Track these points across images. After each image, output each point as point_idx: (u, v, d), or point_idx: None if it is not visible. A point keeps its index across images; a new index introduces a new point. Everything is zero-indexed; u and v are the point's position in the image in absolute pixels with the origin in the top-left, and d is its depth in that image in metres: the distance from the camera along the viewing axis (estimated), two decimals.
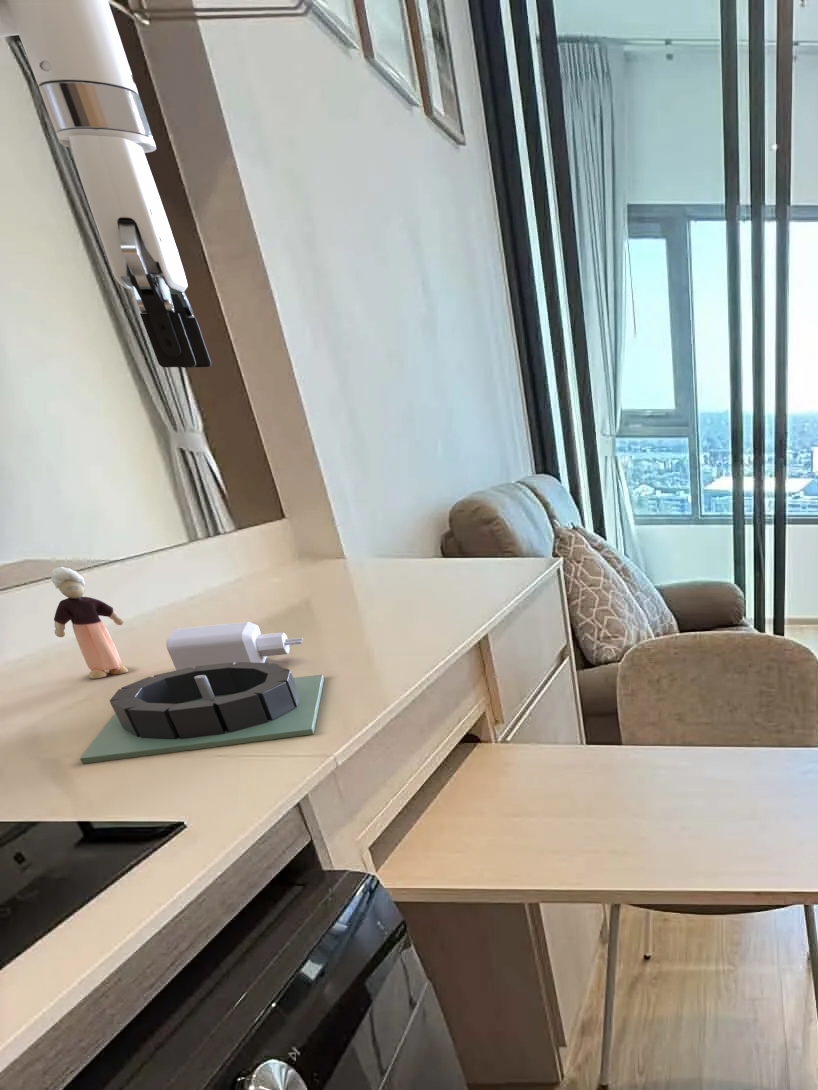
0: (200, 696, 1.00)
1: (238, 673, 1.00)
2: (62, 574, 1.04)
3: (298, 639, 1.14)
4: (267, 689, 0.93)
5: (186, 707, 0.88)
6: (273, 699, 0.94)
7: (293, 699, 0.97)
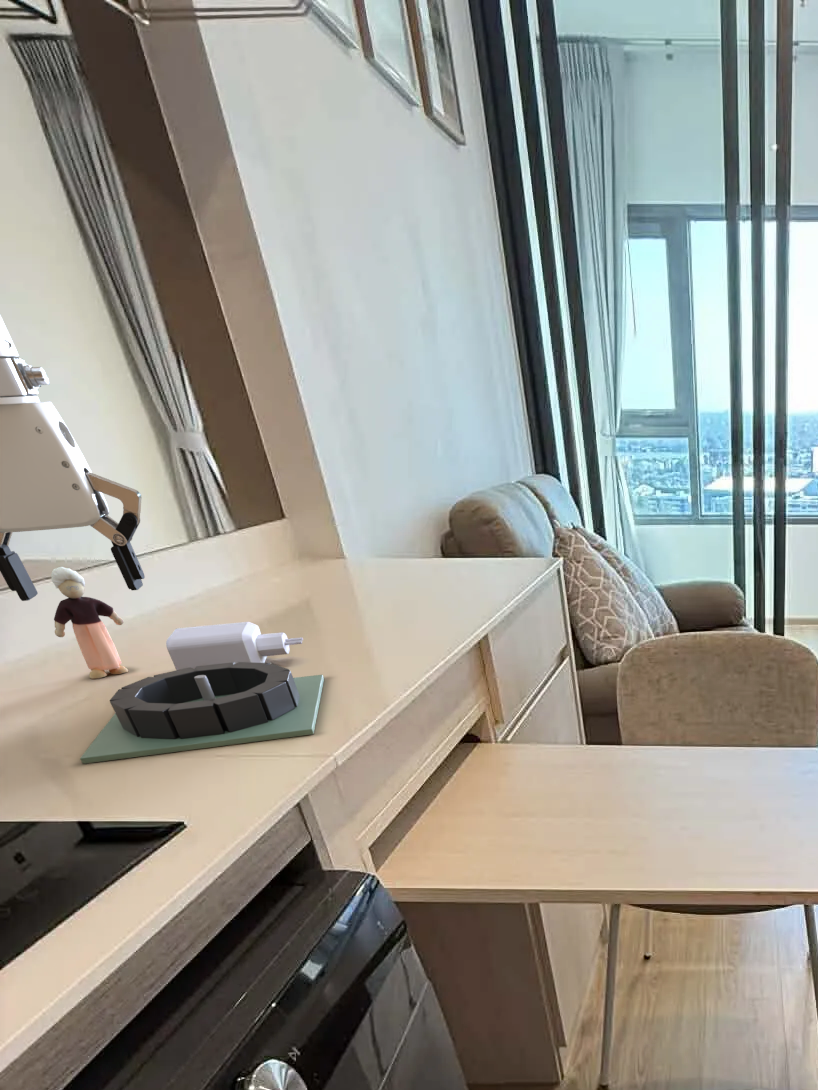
0: (200, 696, 1.00)
1: (238, 673, 1.00)
2: (62, 574, 1.04)
3: (298, 639, 1.14)
4: (267, 689, 0.93)
5: (186, 707, 0.88)
6: (273, 699, 0.94)
7: (293, 699, 0.97)
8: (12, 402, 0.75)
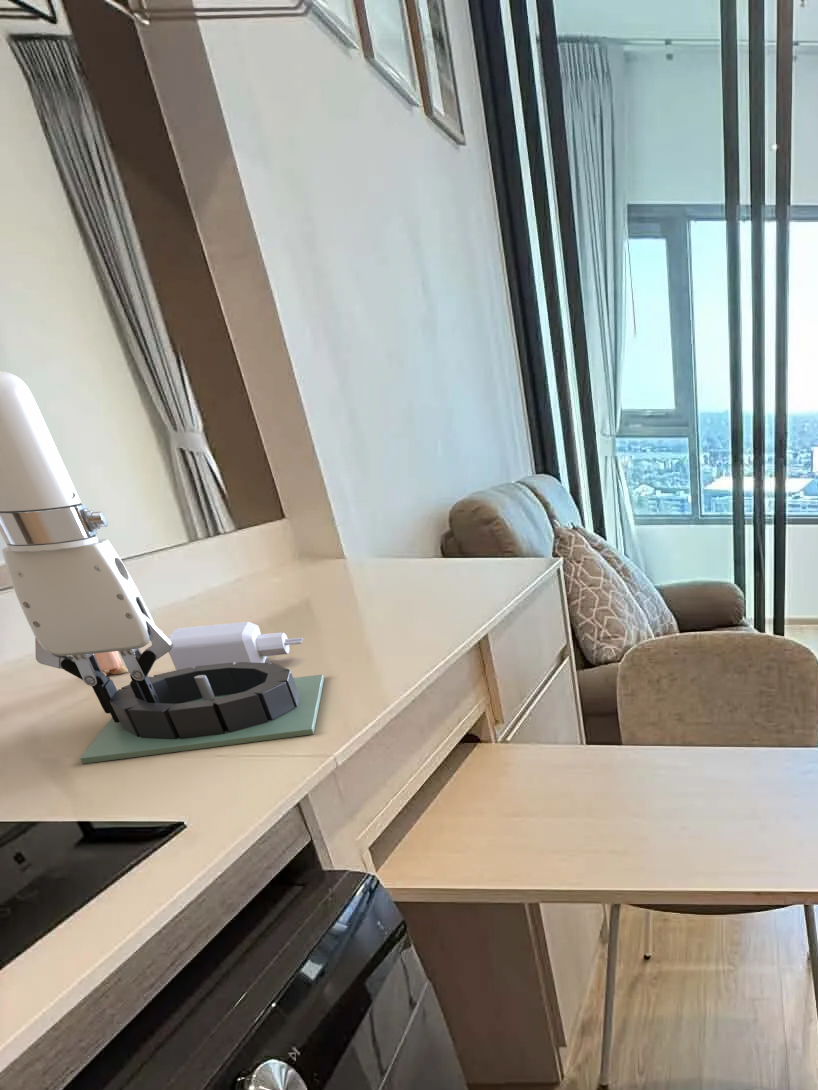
0: (200, 696, 1.00)
1: (238, 673, 1.00)
2: None
3: (298, 639, 1.14)
4: (267, 689, 0.93)
5: (186, 707, 0.88)
6: (273, 699, 0.94)
7: (293, 699, 0.97)
8: (74, 546, 0.82)
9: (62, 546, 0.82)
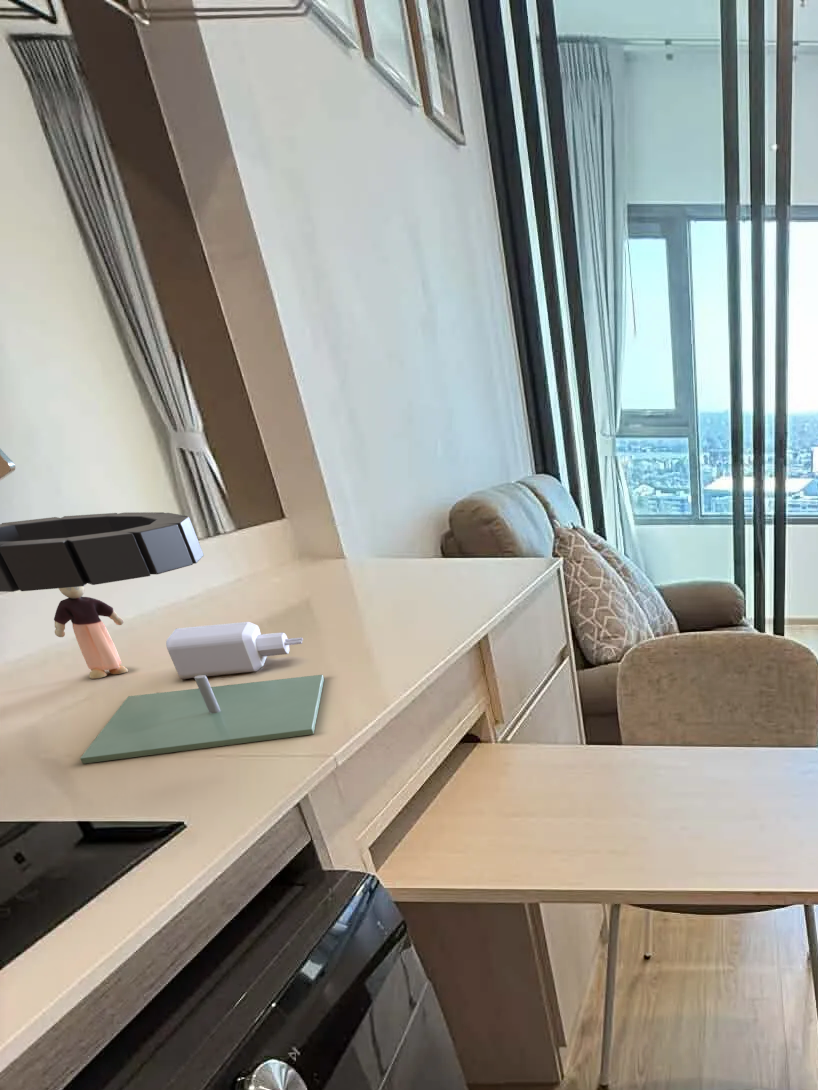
0: None
1: (120, 524, 0.74)
2: None
3: (298, 639, 1.14)
4: (148, 529, 0.67)
5: (25, 543, 0.62)
6: (158, 545, 0.68)
7: (190, 552, 0.71)
8: None
9: None
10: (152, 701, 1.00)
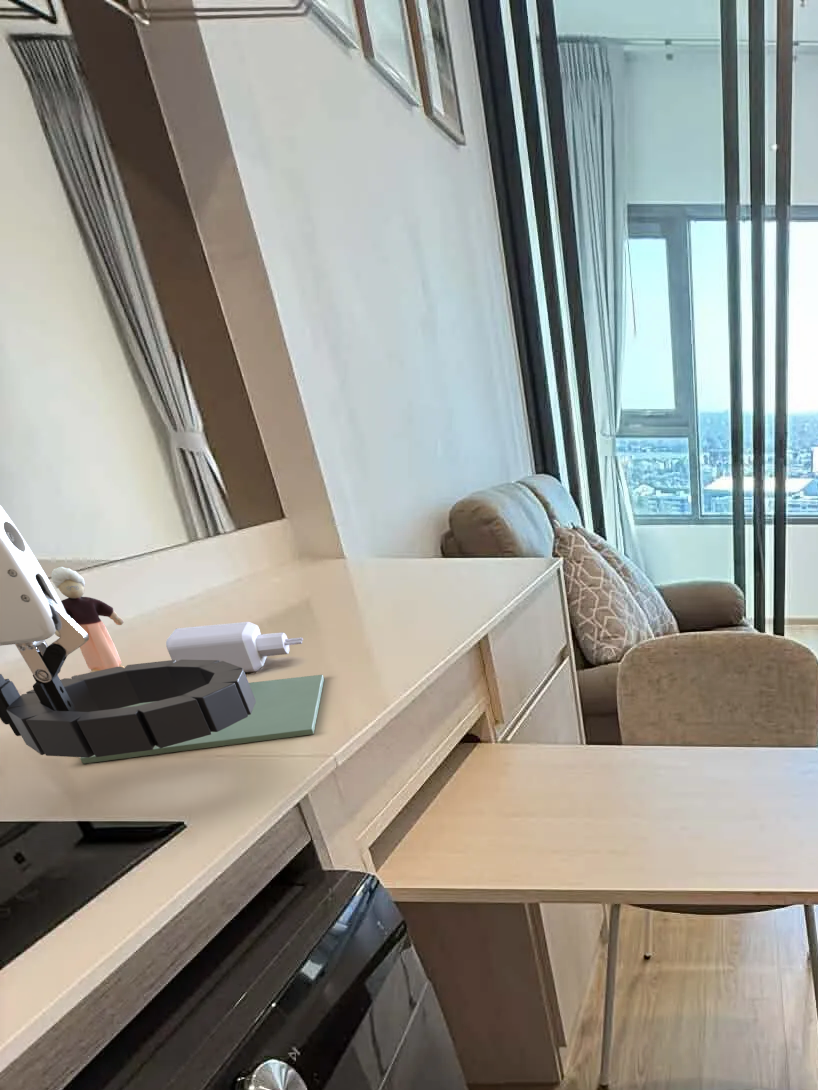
0: (132, 702, 0.80)
1: (179, 673, 0.80)
2: (62, 574, 1.04)
3: (298, 639, 1.14)
4: (210, 692, 0.73)
5: (101, 716, 0.68)
6: (218, 706, 0.73)
7: (246, 705, 0.77)
8: None
9: None
10: None
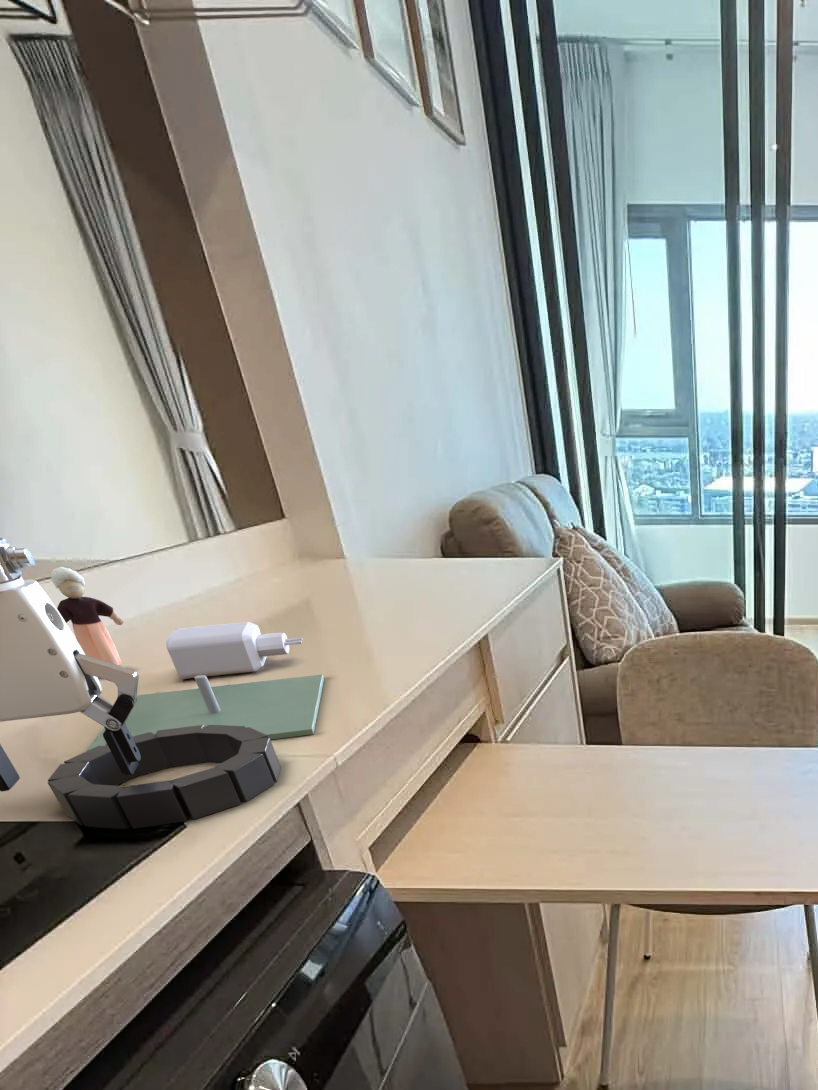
0: (162, 766, 0.84)
1: (207, 739, 0.84)
2: (62, 574, 1.04)
3: (298, 639, 1.14)
4: (240, 765, 0.77)
5: (139, 791, 0.72)
6: (247, 777, 0.77)
7: (272, 773, 0.81)
8: None
9: None
10: (152, 701, 1.00)
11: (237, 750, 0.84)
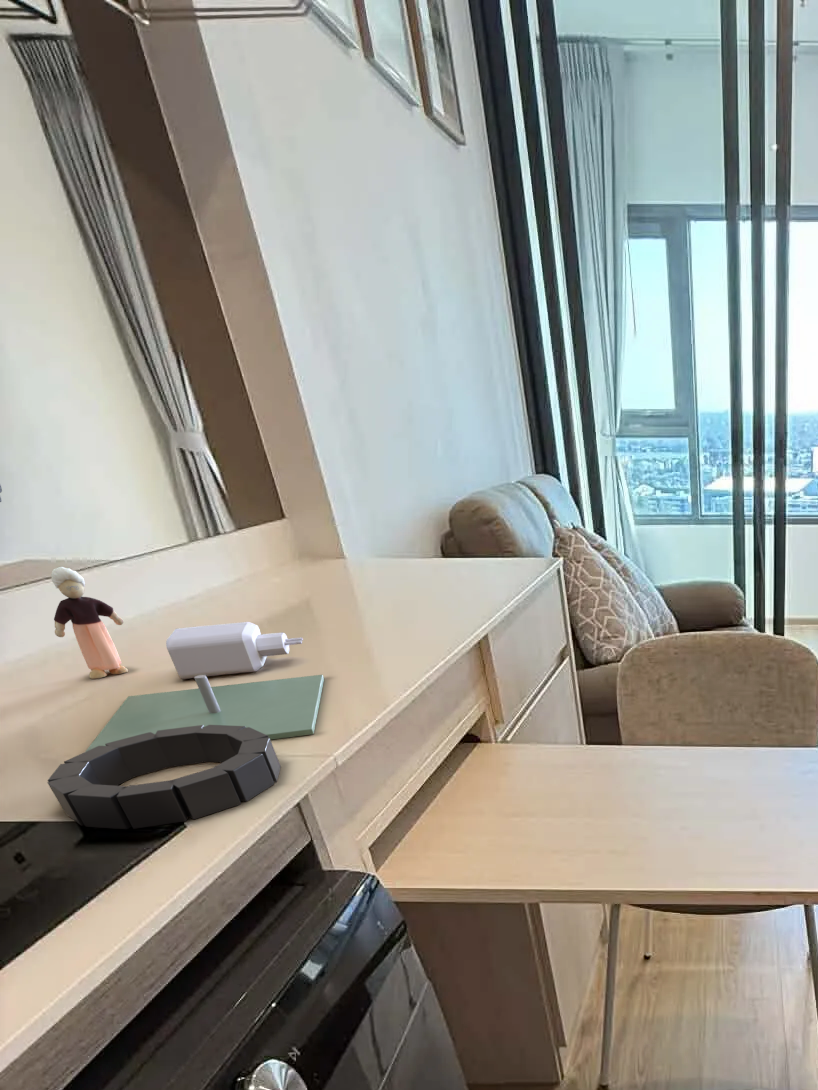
0: (162, 766, 0.84)
1: (207, 739, 0.84)
2: (62, 574, 1.04)
3: (298, 639, 1.14)
4: (240, 765, 0.77)
5: (139, 791, 0.72)
6: (247, 777, 0.77)
7: (272, 773, 0.81)
8: None
9: None
10: (152, 701, 1.00)
11: (237, 750, 0.84)
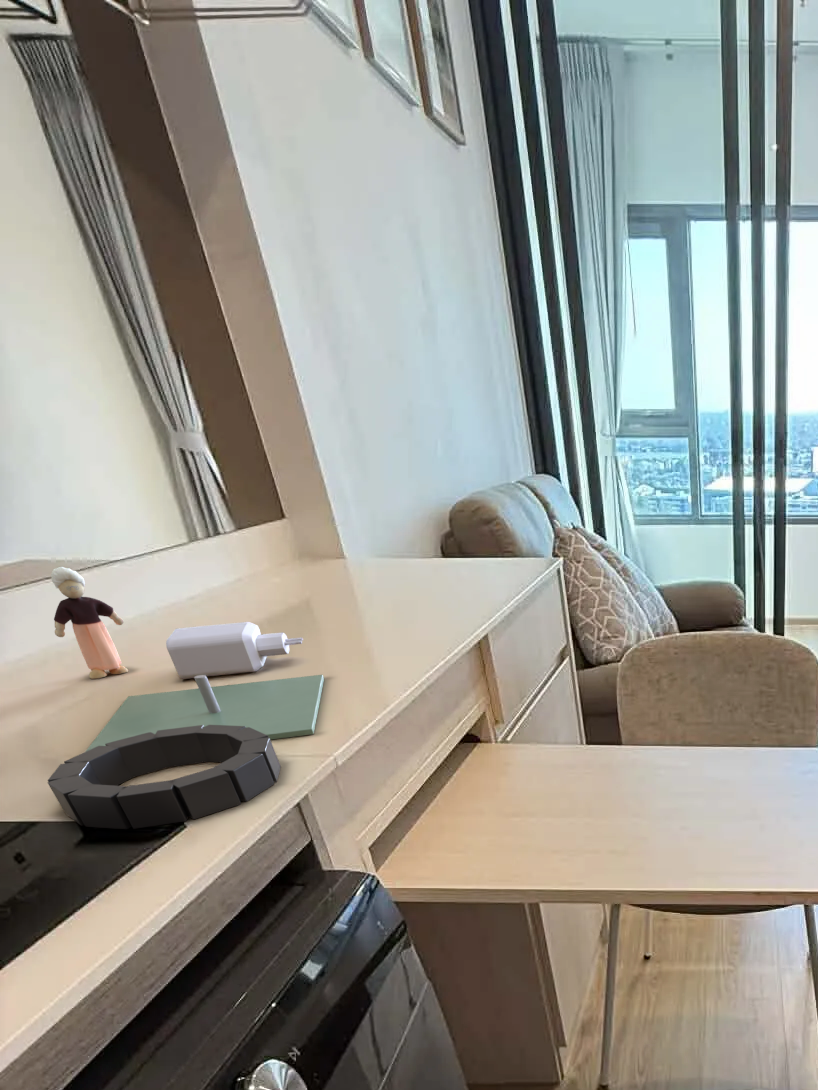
0: (162, 766, 0.84)
1: (207, 739, 0.84)
2: (62, 574, 1.04)
3: (298, 639, 1.14)
4: (240, 765, 0.77)
5: (139, 791, 0.72)
6: (247, 777, 0.77)
7: (272, 773, 0.81)
8: None
9: None
10: (152, 701, 1.00)
11: (237, 750, 0.84)
